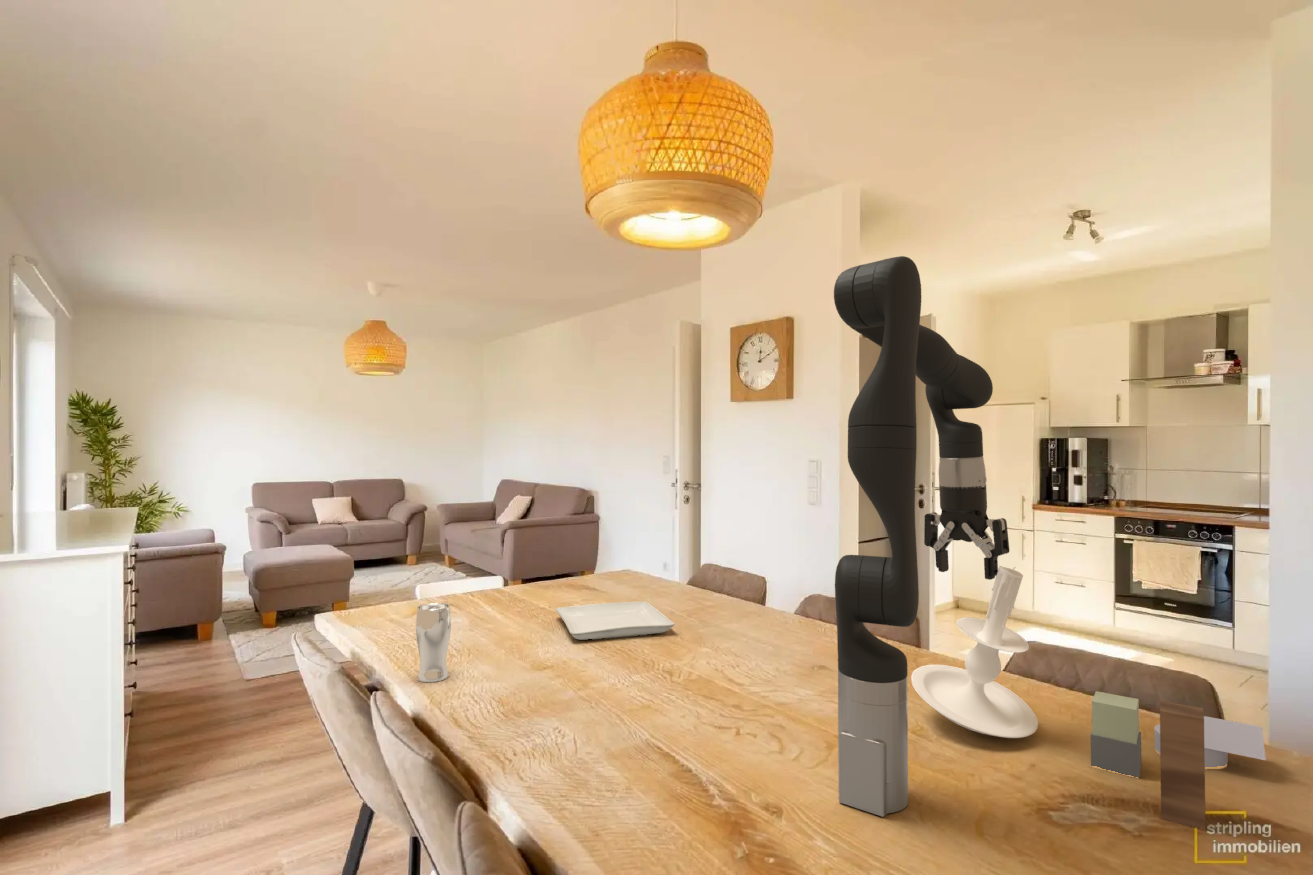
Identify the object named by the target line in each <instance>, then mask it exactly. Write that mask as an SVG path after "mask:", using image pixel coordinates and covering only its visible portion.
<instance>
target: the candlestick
mask: <svg viewBox="0 0 1313 875" xmlns="http://www.w3.org/2000/svg"><path fill="white" fill-rule="evenodd" d="M998 566H999V567H998V572H997V575H996V576H995V578H994V579H995V580H994V583H993V587H992V588H991V591H992V594H991V597H990V600H989V604H988V606H987V609H988V610H987V612H986V615H985V619H984V618H979V617H969V616H966V617H965V616H964V617H960V618H959V619H956V626H957V628H958V629H959V630H960V631H961V632H962V633H963V634H965V635H966V636H967V637H968V638H970V639H972V641H973V640H974V641H976V642H977V644H976V645H975V646H974V647H972V648H971V649H970V650H969V651H968V652H967V653H966V655H965V658H964V667H965V668H961V667H957V666H951V665H946V664H926V665H922V666H918V667H917V668H915V669H914V671H912V673H911V677H910V680H911V685H912V687H913V689H914V690H915V692H916V694H918V695H919V697H920V698H921V699H922V700H923V701H924V702H925V703H926V704H928V705H929V706H930V707H931V708H932V709H934V710H935V711H936V712H937V713H938V714H940V715H942V716H943V717H945V718H946V719H947V720H948V721H951V722H952V723H953V724H954V723H955V724H956V725H958V726H961V727H963V728H965V729H967V730H969V731H973V732H975V733H979V734H982V735H987V736H991V737H992V736H993V737H1000V738H1007V739H1022V738H1027V737H1029V736H1032V735H1033V734H1034V733H1036V731H1037V729H1038V727H1039V720H1038V717H1037V715H1036V713H1035V712H1034V710H1033V709H1032V707H1031V706H1029V704H1028V703H1027V702H1025V701H1024V700H1023V698H1021V697H1020V696H1018V695H1017V694H1016V693H1014V691H1012V690H1010V689H1009V688H1007V687H1006V686H1004V685H1002V684H1000V683H998V682H997V681H995V680H996V679H997V678H998V677H999V676H1000V674H1001V671H1002V662H1001V658H1000V656H999V651H1003V652H1007V653H1013V654H1015V653H1025V652H1028V651H1029V648H1030V646H1029V643H1028V641H1027V640H1025V638H1024V637H1023V636H1022V635H1020V634H1019V633H1017V632H1015V631H1013V630H1012V629H1010V628H1008V627H1006V623H1007V621H1008V617H1011V616H1012V611H1013V609H1015V602H1016V599H1017V596H1018V594H1019V590H1020V586H1021V583H1022V580H1023V577H1024V575H1023V574H1022V573H1021V572H1019V571H1017V570H1015V569H1016V566H1014V567H1013V568H1009V567H1004V566H1002V565H998Z"/></svg>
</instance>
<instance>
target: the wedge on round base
mask: <svg viewBox="0 0 1313 875" xmlns="http://www.w3.org/2000/svg"><path fill="white" fill-rule="evenodd" d="M1263 732H1264V731H1263V726H1260V725H1259V726H1258V725H1254V724H1248V723H1242V722H1237V721H1233V720H1227V719H1221V718H1216V717H1211V716H1206V715H1204V754H1205V767H1217V766H1225V765H1226V764H1227V763H1229V762H1228V761H1229V758H1228V754H1233V755H1237V756H1243V757H1248V758H1252V759H1257V760H1261V761H1262V760H1263V761H1266V750H1265V741H1264V733H1263ZM1155 749H1156V750H1157V751H1158V752H1159V753H1160V723H1158V724H1156V725H1155V726H1154V750H1155Z"/></svg>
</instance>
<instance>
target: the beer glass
mask: <svg viewBox="0 0 1313 875" xmlns="http://www.w3.org/2000/svg"><path fill="white" fill-rule="evenodd" d="M415 618H416V619H415V620H416V621H415V635H416V636H415V637H416V642H417V648H418V655H419V670H418V673H417V674H418V676H417V680H418V681H419V682H421V683H437V682H442V681H445V680H446V679H448V678H449V670H448V666H447V664H448V663H447V655H448V647H449V644H450V643H449V642H450V639H451V630H452V628H451V627H452V626H451V625H452V623H451V622H452V621H451V619H452V618H451V608H450V604H449V603H446V602H431V603H424V604H420V605H418V606H417V609H416V617H415Z"/></svg>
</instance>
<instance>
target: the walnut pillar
mask: <svg viewBox="0 0 1313 875" xmlns="http://www.w3.org/2000/svg"><path fill="white" fill-rule="evenodd" d="M1204 716H1205V715H1204V708H1203V707H1197V706H1191V705H1187V704H1181V703H1175V702H1170V701H1165V700H1160V705H1159V724H1160V757H1159V759H1160V762H1159V763H1160V819H1162V820H1165V821H1169V822H1172V823H1173V822H1174V823H1177V824H1180V825H1184V826H1188V827H1191V826H1192V827H1191V828H1195V827H1197V828H1196V829H1198V828H1202V829H1205V830H1206V774H1205V773H1206V772H1205V771H1206V769H1205V754H1204ZM1202 829H1201V830H1202Z"/></svg>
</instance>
